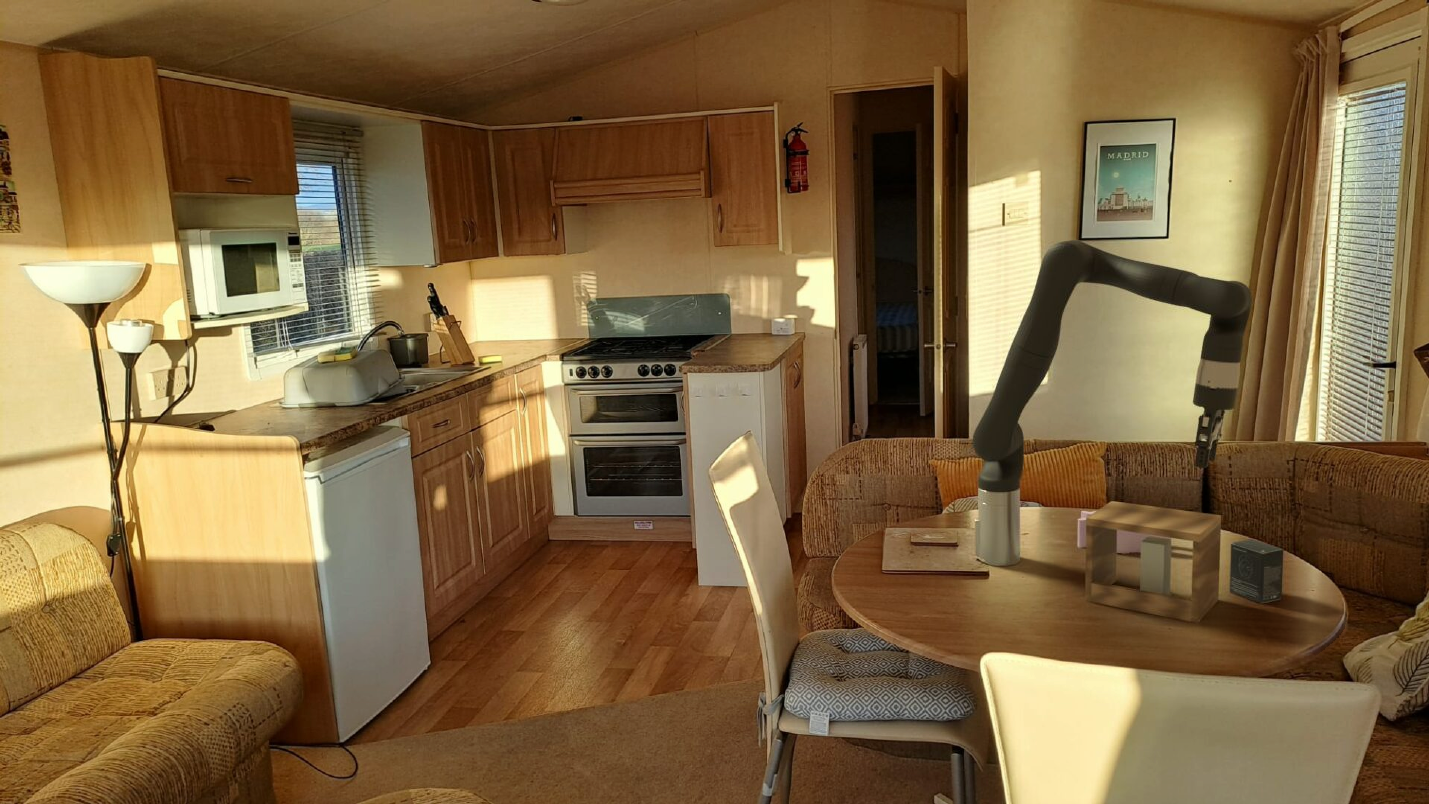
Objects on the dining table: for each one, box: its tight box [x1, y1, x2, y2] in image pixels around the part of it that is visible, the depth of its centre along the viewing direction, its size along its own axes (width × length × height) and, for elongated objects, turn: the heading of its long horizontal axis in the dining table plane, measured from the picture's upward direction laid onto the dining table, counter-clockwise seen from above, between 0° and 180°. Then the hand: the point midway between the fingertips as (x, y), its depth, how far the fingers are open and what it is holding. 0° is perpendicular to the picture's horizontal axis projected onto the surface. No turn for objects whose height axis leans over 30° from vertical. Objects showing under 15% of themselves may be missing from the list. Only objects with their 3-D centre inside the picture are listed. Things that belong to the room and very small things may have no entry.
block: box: [1139, 536, 1172, 596], centre depth 206 cm, size 4×4×12 cm
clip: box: [1077, 510, 1172, 554], centre depth 238 cm, size 20×12×7 cm, turn 64°
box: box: [1229, 539, 1284, 604], centre depth 204 cm, size 8×6×11 cm
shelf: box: [1084, 500, 1222, 624], centre depth 204 cm, size 21×14×18 cm
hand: (1204, 463), depth 201 cm, fingers open, 8 cm apart
